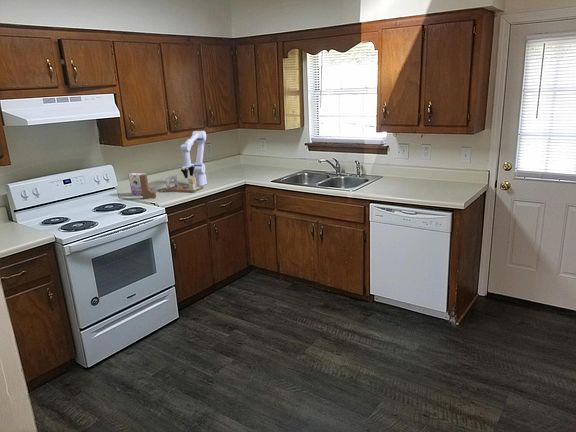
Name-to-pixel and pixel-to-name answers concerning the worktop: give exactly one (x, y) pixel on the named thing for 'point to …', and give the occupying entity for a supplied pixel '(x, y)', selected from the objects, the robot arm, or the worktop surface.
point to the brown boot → (146, 188)
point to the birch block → (192, 183)
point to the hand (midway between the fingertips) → (189, 176)
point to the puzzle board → (182, 189)
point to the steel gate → (170, 179)
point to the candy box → (135, 183)
